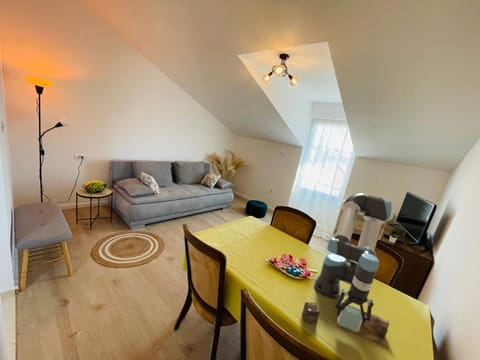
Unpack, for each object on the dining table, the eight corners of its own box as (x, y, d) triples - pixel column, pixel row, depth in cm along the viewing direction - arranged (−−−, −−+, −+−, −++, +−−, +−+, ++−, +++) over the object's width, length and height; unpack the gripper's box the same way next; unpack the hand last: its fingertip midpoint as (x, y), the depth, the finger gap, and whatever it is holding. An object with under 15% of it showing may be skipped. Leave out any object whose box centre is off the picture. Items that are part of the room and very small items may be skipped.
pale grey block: (338, 324, 111) (343, 309, 108) (338, 319, 114) (343, 304, 111) (356, 331, 108) (362, 316, 105) (356, 326, 111) (361, 311, 109)
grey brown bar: (336, 325, 117) (340, 312, 115) (336, 314, 124) (340, 302, 122) (387, 346, 109) (392, 333, 107) (383, 333, 116) (388, 320, 115)
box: (313, 314, 121) (316, 303, 120) (316, 324, 116) (320, 312, 114) (301, 313, 121) (305, 301, 119) (305, 322, 115) (308, 311, 114)
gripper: (336, 282, 105) (325, 321, 111) (388, 300, 98) (372, 341, 104) (336, 273, 111) (325, 310, 117) (384, 289, 105) (370, 328, 111)
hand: (347, 324), depth 111 cm, fingers closed on pale grey block, 8 cm apart
